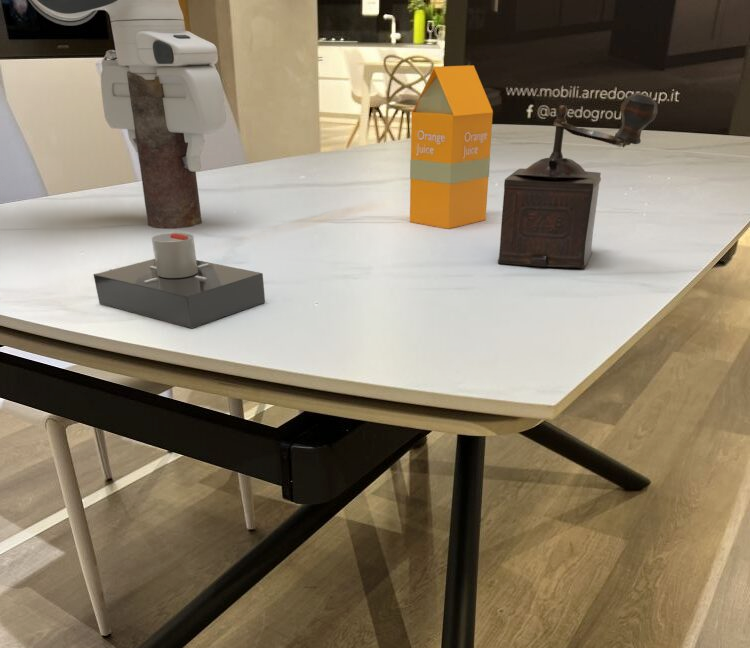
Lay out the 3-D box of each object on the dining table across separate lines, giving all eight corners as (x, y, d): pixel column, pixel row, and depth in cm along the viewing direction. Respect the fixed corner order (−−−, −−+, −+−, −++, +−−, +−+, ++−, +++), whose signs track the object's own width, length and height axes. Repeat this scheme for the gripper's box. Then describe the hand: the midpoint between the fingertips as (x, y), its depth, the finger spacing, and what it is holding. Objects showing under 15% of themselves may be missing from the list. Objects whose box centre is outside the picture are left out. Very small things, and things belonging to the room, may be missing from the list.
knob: (149, 274, 74) (142, 235, 72) (179, 266, 77) (174, 228, 75) (175, 280, 72) (169, 240, 70) (206, 271, 75) (201, 232, 73)
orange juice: (408, 221, 110) (411, 66, 100) (447, 213, 116) (453, 65, 105) (449, 229, 106) (456, 67, 95) (487, 220, 111) (497, 65, 101)
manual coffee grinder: (493, 265, 88) (506, 92, 79) (510, 244, 97) (523, 87, 88) (629, 275, 84) (660, 94, 74) (633, 253, 93) (661, 88, 83)
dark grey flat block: (99, 303, 76) (92, 272, 75) (174, 281, 83) (169, 253, 82) (191, 328, 69) (187, 294, 68) (265, 302, 76) (262, 271, 74)
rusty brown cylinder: (170, 227, 109) (148, 70, 98) (214, 231, 106) (196, 70, 96) (138, 238, 103) (111, 71, 92) (183, 242, 100) (161, 71, 90)
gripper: (80, 50, 96) (102, 166, 103) (187, 48, 86) (204, 177, 93) (120, 49, 100) (139, 160, 108) (226, 47, 90) (240, 170, 97)
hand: (170, 168), depth 100 cm, fingers open, 8 cm apart
